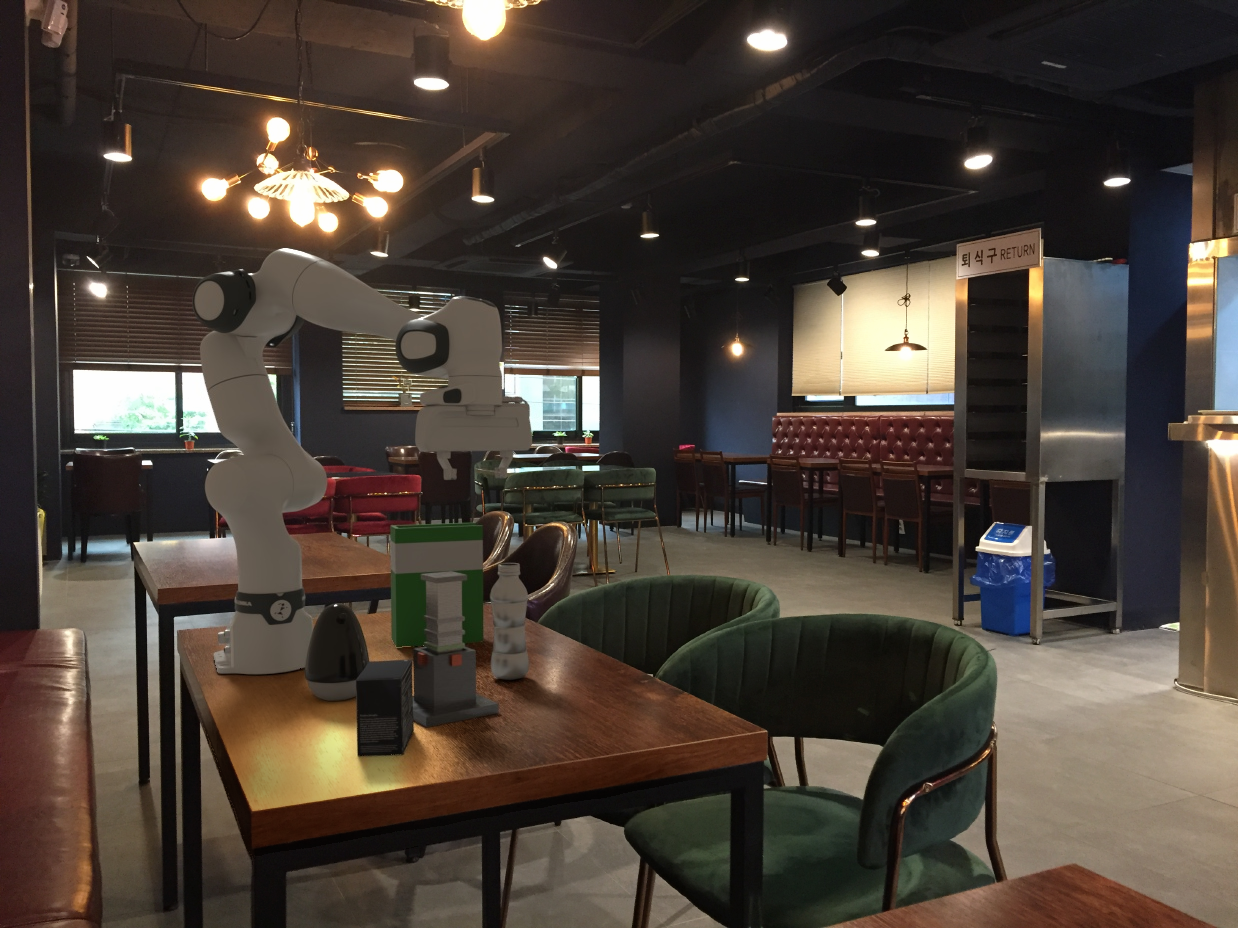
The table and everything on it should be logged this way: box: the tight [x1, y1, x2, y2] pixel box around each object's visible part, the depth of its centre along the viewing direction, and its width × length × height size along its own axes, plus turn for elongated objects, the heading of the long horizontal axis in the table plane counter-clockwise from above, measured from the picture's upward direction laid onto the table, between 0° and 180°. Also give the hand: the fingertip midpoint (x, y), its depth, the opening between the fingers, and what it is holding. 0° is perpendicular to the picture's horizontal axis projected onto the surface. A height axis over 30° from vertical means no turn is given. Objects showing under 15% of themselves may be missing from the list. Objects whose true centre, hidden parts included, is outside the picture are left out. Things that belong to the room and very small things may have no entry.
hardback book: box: [389, 522, 484, 648], centre depth 198 cm, size 18×7×24 cm, turn 111°
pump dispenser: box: [304, 603, 371, 702], centre depth 156 cm, size 10×10×15 cm
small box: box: [355, 659, 415, 757], centre depth 132 cm, size 11×6×10 cm, turn 5°
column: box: [421, 571, 467, 655], centre depth 147 cm, size 5×5×15 cm
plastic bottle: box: [489, 562, 530, 681], centre depth 167 cm, size 6×7×20 cm
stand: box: [412, 646, 500, 728], centre depth 147 cm, size 12×12×10 cm
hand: (475, 479), depth 159 cm, fingers open, 8 cm apart
